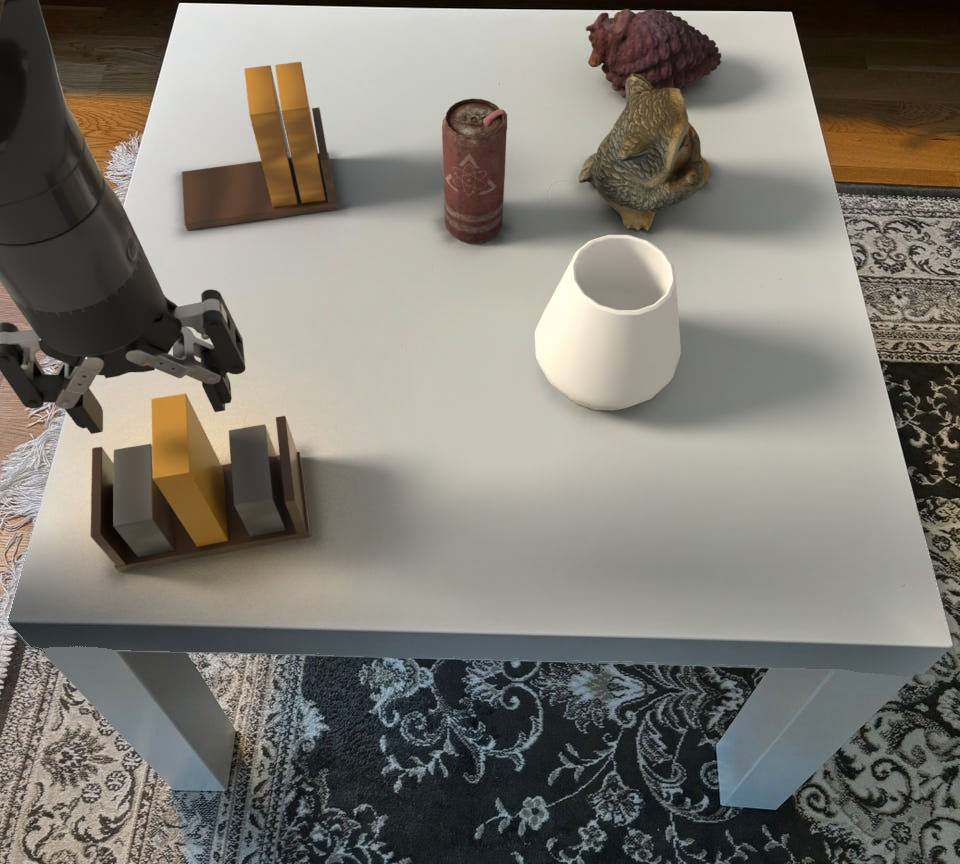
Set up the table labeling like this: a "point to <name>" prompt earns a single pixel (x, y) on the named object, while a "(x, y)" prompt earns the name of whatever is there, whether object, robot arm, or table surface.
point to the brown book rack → (157, 529)
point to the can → (474, 169)
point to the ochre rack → (267, 160)
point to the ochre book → (188, 469)
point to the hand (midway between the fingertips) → (159, 411)
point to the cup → (612, 325)
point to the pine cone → (651, 49)
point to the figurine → (647, 155)
